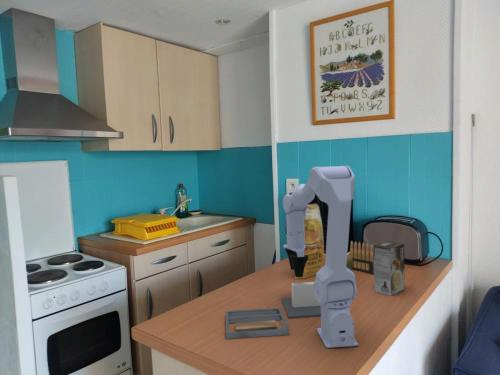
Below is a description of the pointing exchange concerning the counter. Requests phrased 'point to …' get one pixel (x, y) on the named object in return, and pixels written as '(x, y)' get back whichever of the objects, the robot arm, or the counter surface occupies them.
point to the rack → (256, 316)
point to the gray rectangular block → (303, 295)
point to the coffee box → (389, 268)
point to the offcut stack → (255, 325)
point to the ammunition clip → (362, 258)
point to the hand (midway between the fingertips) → (296, 273)
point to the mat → (300, 310)
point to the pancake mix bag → (313, 241)
